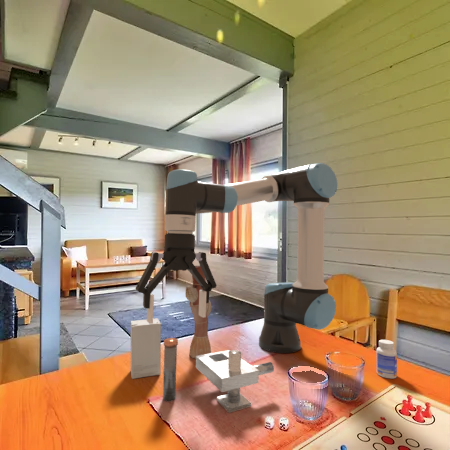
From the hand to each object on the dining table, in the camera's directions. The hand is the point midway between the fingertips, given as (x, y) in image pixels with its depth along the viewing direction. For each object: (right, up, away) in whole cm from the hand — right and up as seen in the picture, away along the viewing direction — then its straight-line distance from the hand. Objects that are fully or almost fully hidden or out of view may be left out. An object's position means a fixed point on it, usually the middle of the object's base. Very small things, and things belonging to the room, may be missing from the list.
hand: (177, 319), depth 76 cm
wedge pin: (-2, -19, -1) cm, 19 cm away
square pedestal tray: (+14, -20, +3) cm, 25 cm away
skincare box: (-11, -20, +13) cm, 26 cm away
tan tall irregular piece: (+3, -20, +27) cm, 34 cm away
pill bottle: (+60, -21, +15) cm, 65 cm away
